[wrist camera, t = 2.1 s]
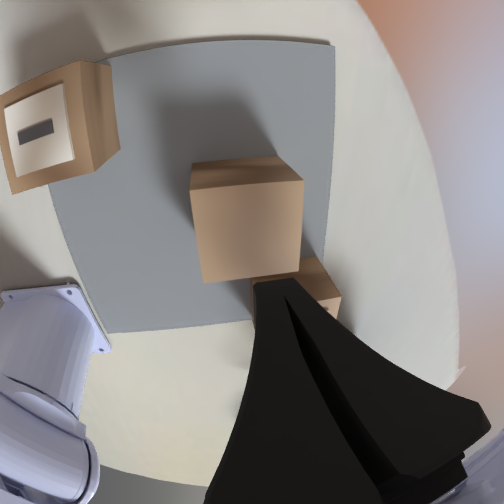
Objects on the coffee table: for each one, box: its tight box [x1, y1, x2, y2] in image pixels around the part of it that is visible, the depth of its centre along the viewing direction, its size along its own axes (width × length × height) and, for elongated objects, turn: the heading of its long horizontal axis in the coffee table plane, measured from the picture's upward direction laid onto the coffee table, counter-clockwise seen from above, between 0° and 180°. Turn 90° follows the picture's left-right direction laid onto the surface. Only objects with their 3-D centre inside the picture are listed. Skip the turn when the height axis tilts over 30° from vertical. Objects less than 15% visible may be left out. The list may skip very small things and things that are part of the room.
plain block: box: [189, 156, 304, 284], centre depth 15 cm, size 5×5×4 cm
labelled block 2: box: [250, 256, 342, 328], centre depth 19 cm, size 5×5×5 cm
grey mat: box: [48, 40, 335, 333], centre depth 17 cm, size 18×20×1 cm
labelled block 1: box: [0, 60, 121, 195], centre depth 10 cm, size 5×5×5 cm
